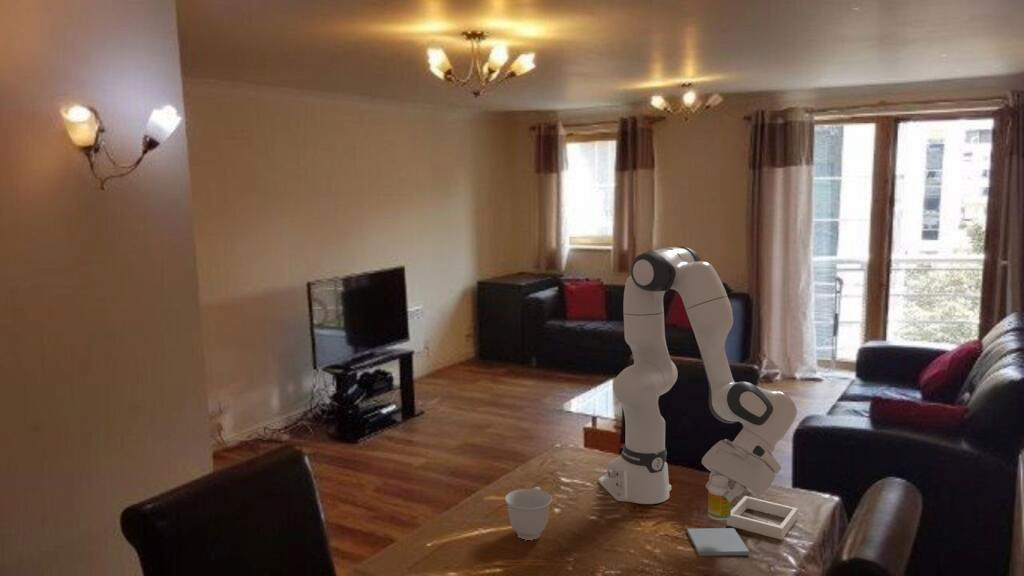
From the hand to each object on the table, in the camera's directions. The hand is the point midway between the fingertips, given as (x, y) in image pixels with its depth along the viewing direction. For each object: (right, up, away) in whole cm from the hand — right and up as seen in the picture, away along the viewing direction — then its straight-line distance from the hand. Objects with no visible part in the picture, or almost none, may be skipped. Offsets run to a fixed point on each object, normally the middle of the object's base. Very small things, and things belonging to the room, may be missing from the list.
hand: (717, 494), depth 182 cm
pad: (0, -13, +2) cm, 13 cm away
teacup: (-46, -12, +8) cm, 48 cm away
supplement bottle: (+1, -6, +1) cm, 6 cm away
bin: (+15, -11, +13) cm, 23 cm away
